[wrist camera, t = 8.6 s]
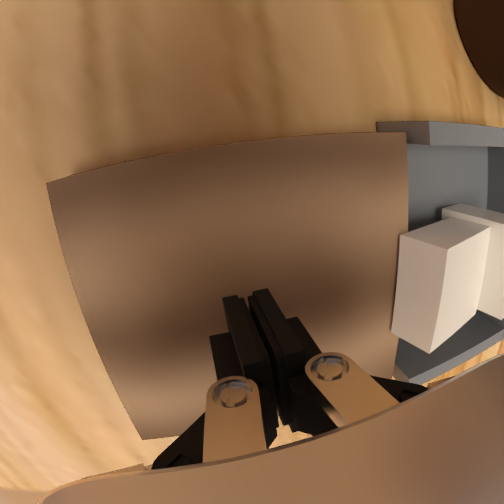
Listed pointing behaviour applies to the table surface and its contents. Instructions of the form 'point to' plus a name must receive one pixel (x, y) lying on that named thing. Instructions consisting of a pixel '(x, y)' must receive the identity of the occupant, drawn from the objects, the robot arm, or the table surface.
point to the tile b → (498, 255)
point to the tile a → (438, 280)
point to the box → (430, 211)
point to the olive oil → (484, 38)
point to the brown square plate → (233, 257)
